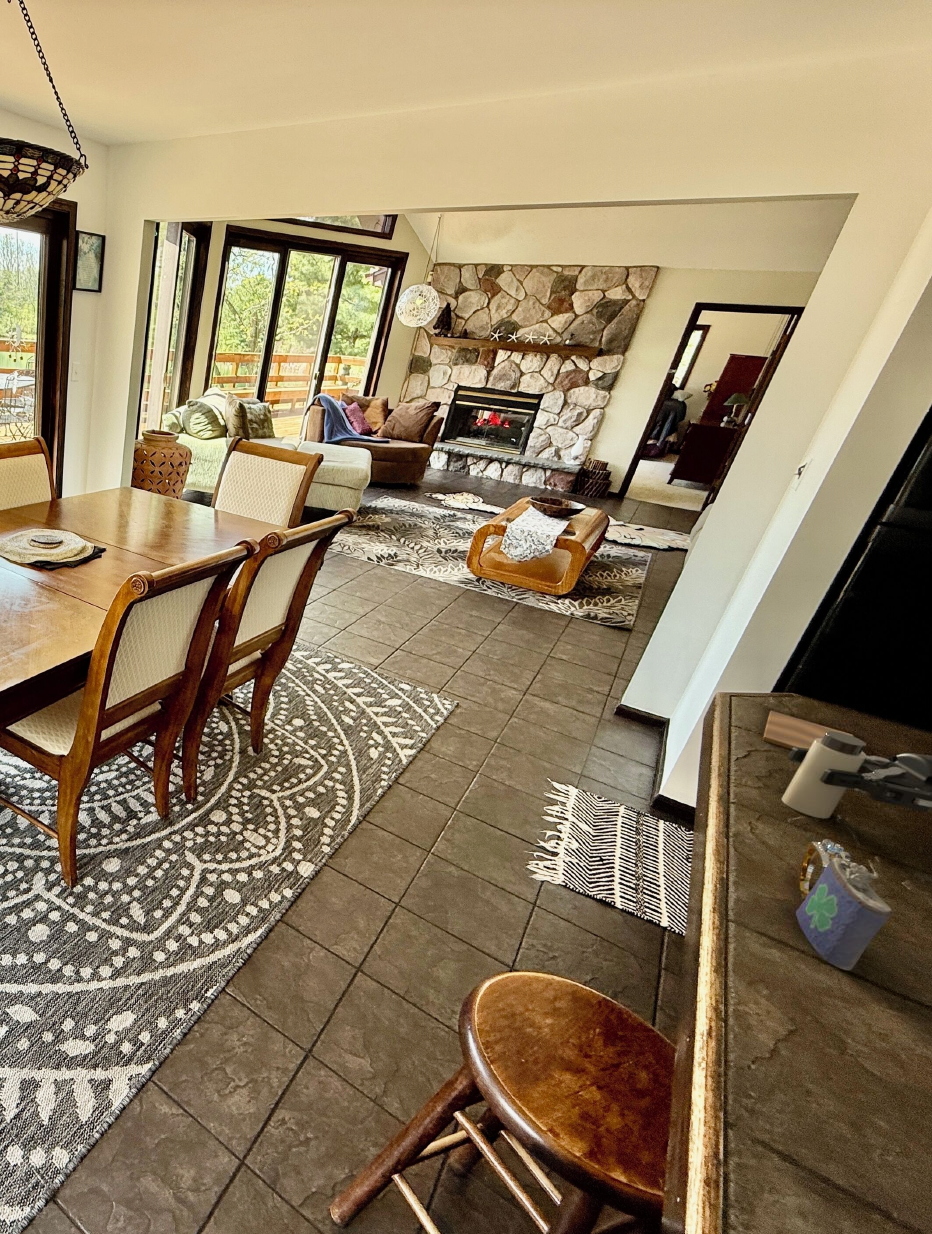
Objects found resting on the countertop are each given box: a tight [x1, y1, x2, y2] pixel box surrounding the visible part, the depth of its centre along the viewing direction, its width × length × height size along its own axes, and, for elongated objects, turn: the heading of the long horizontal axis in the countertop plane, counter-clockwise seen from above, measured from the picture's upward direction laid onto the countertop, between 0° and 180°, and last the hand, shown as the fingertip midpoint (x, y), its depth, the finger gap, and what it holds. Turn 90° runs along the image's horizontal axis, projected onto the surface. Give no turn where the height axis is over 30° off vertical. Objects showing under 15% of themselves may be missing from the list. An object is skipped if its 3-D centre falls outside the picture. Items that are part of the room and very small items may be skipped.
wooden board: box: [762, 710, 854, 750], centre depth 117 cm, size 16×11×1 cm
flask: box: [795, 857, 893, 971], centre depth 70 cm, size 9×3×11 cm, turn 150°
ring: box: [797, 838, 852, 900], centre depth 78 cm, size 7×3×8 cm, turn 138°
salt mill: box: [781, 731, 867, 819], centre depth 95 cm, size 5×5×12 cm
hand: (808, 764), depth 95 cm, fingers closed on salt mill, 5 cm apart
